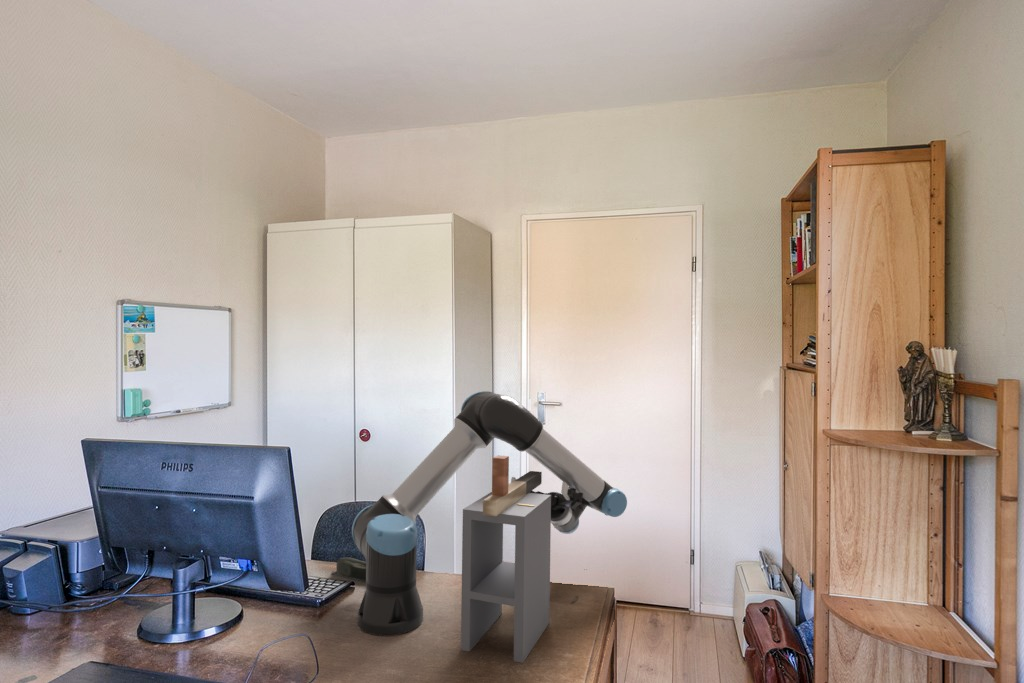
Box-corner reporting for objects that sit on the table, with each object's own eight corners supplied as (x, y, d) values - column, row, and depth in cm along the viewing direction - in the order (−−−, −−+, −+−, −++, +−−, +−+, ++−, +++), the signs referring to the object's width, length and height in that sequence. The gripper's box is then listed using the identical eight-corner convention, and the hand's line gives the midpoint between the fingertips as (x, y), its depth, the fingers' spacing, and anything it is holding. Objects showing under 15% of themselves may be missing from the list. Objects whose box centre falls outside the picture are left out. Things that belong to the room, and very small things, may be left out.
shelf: (460, 649, 127) (462, 508, 127) (494, 612, 144) (495, 488, 145) (522, 662, 122) (524, 515, 122) (549, 622, 140) (551, 494, 140)
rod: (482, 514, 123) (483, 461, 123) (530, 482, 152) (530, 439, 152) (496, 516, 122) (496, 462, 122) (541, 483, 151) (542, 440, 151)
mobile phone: (381, 563, 164) (337, 554, 169) (375, 567, 161) (330, 557, 166) (380, 581, 164) (336, 571, 169) (374, 585, 161) (329, 575, 166)
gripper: (598, 527, 162) (583, 504, 145) (512, 516, 170) (488, 494, 153) (601, 500, 165) (587, 474, 148) (517, 491, 174) (494, 466, 157)
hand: (537, 484), depth 151 cm, fingers open, 13 cm apart
